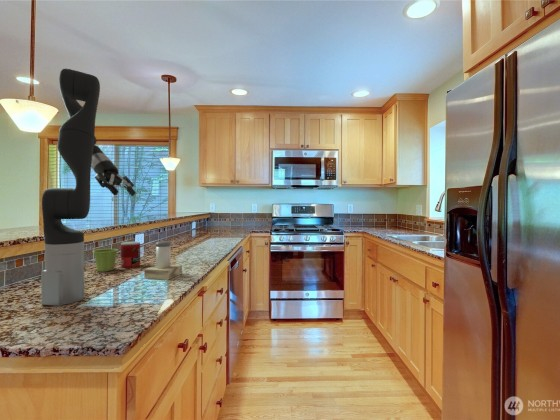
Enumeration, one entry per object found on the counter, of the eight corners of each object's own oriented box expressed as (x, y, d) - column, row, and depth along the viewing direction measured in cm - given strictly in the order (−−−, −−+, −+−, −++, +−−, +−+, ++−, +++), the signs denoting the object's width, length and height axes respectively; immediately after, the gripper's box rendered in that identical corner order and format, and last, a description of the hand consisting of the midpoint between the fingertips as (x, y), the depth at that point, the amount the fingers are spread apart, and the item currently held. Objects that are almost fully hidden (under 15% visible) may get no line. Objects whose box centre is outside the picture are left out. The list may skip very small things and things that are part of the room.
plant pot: (96, 268, 125) (96, 249, 124) (120, 267, 127) (120, 248, 127) (89, 273, 116) (89, 252, 115) (115, 272, 118) (114, 251, 118)
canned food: (134, 268, 125) (134, 243, 125) (117, 268, 126) (117, 243, 125) (143, 264, 133) (143, 241, 133) (126, 264, 133) (126, 241, 133)
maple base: (167, 279, 107) (167, 270, 107) (144, 278, 109) (144, 269, 109) (181, 273, 117) (181, 265, 116) (160, 272, 118) (160, 263, 118)
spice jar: (165, 268, 109) (165, 243, 109) (152, 268, 110) (152, 242, 110) (173, 265, 115) (173, 241, 115) (161, 265, 116) (161, 241, 116)
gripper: (92, 156, 108) (115, 186, 105) (122, 162, 122) (144, 188, 119) (81, 171, 110) (104, 200, 107) (112, 174, 124) (134, 201, 121)
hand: (125, 194), depth 113 cm, fingers open, 8 cm apart
